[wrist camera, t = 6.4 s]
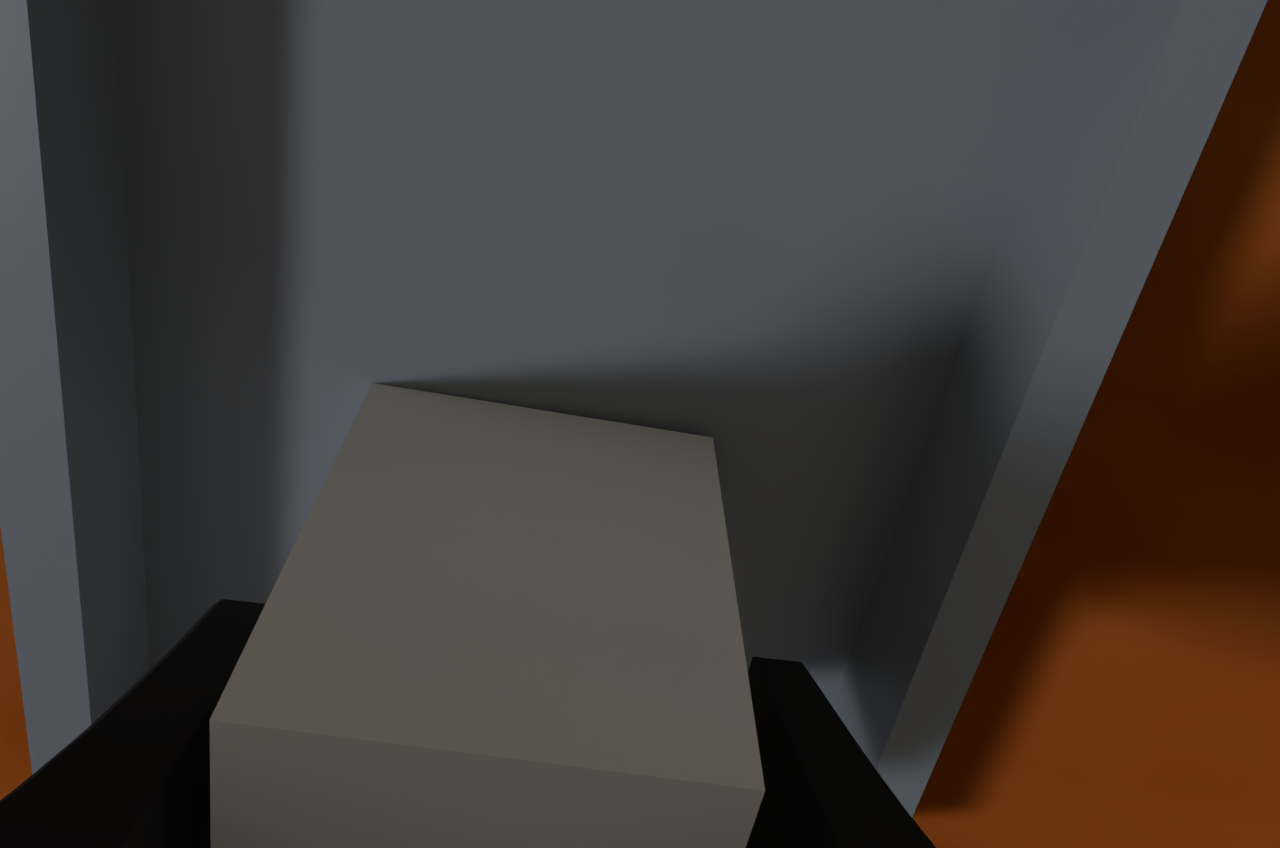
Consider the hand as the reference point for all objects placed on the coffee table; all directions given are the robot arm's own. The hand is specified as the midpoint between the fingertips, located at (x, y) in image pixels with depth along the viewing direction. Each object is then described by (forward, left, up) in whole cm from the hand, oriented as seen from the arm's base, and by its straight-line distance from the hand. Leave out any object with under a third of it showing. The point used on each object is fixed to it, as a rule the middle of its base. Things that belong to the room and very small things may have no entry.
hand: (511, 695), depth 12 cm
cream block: (0, 0, -3) cm, 3 cm away
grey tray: (+3, 0, -4) cm, 5 cm away
